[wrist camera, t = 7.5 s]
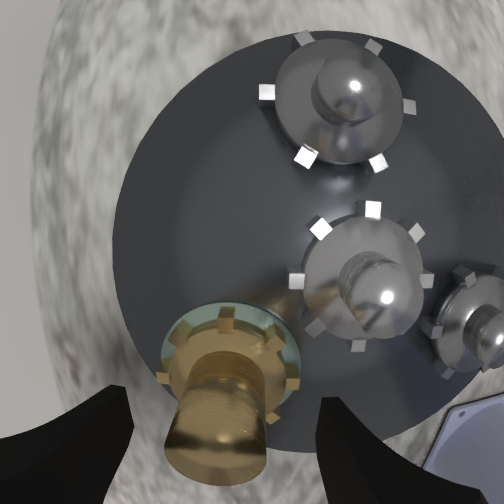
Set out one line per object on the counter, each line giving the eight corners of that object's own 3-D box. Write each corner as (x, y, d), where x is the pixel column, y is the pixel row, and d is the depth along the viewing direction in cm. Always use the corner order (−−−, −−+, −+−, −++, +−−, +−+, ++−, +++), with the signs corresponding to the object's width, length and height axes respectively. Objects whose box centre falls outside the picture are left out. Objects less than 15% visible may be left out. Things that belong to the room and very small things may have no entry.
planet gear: (301, 307, 13) (327, 384, 8) (291, 418, 14) (302, 506, 9) (157, 303, 13) (102, 371, 8) (170, 412, 15) (140, 494, 9)
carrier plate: (515, 88, 12) (568, 73, 7) (469, 416, 16) (500, 457, 11) (127, 44, 12) (82, 2, 7) (147, 433, 16) (124, 488, 12)
